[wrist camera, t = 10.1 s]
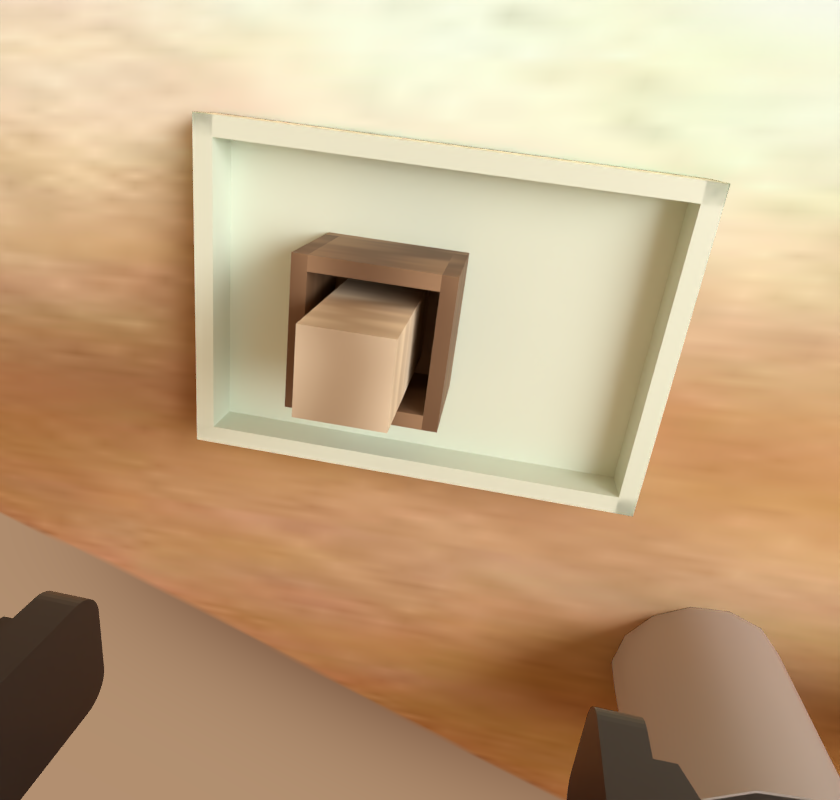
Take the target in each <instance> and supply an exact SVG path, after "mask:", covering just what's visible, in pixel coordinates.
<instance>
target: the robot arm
mask: <svg viewBox="0 0 840 800" xmlns="http://www.w3.org/2000/svg"><path fill="white" fill-rule="evenodd" d="M103 677H104V664H103V653H102V642H101V631H100V620H99V611H98V606H97V604H96V602H95V601H94V600H91V599H86V598H82V597H77V596H72V595H67V594H62V593H57V592H53V591H46V592H43V593H41V594H39V595H38V596H37V597H36V598H34V599H33V600H32V601H31V602H30V603H29V604H28V605H27V606H26V607H25V608H24V609H22V611H20V612H19V613H18V614H17V615H16V616H15V617H14V618H8V617H2V618H0V800H21V798H22V797H23V796H24V794H25V793H26V792H27V791H28V789H29V788H30V787H31V786H32V784H33V783H34V782H35V780H36V779H37V778H38V777H39V775H40V774H41V773H42V771H43V770H44V769H45V767H46V766H47V765H48V764H49V762H50V761H51V760H52V759H53V757H54V756H55V755H56V753H57V752H58V751H59V749H60V748H61V747H62V746H63V744H64V743H65V742H66V741H67V739H68V738H69V737H70V735H71V734H72V733H73V731H74V730H75V729H76V728H77V726H78V725H79V724H80V723H81V721H82V720H83V719H84V717H85V716H86V715H87V714H88V712H89V711H90V709H91V708H92V706H93V705H94V703H95V701H96V699H97V697H98V694H99V692H100V689H101V686H102V682H103ZM567 800H701V799H700V798H699V796H698V795H697V793H696V791H695V790H694V788H693V787H692V785H691V784H690V782H689V780H688V779H687V777H686V776H685V774H684V773H683V771H682V769H681V768H680V766H679V765H678V764H676V763H671V762H666V761H662V760H657V759H653V757H652V752H651V747H650V741H649V736H648V731H647V727H646V723H645V721H644V719H643V718H642V717H640V716H636V715H631V714H626V713H621V712H617V711H612V710H607V709H602V708H598V707H593V706H592V707H591V708H590V710H589V712H588V715H587V718H586V722H585V725H584V729H583V733H582V736H581V740H580V743H579V747H578V750H577V754H576V757H575V761H574V764H573V768H572V771H571V775H570V780H569V785H568V793H567Z"/></svg>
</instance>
